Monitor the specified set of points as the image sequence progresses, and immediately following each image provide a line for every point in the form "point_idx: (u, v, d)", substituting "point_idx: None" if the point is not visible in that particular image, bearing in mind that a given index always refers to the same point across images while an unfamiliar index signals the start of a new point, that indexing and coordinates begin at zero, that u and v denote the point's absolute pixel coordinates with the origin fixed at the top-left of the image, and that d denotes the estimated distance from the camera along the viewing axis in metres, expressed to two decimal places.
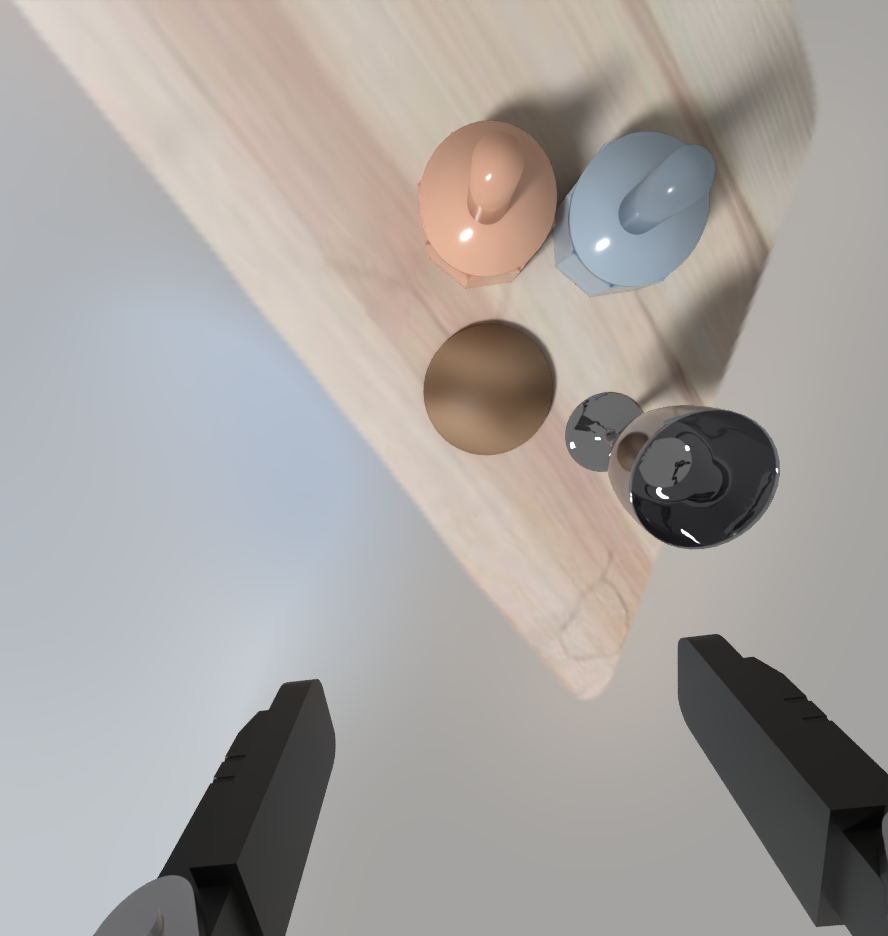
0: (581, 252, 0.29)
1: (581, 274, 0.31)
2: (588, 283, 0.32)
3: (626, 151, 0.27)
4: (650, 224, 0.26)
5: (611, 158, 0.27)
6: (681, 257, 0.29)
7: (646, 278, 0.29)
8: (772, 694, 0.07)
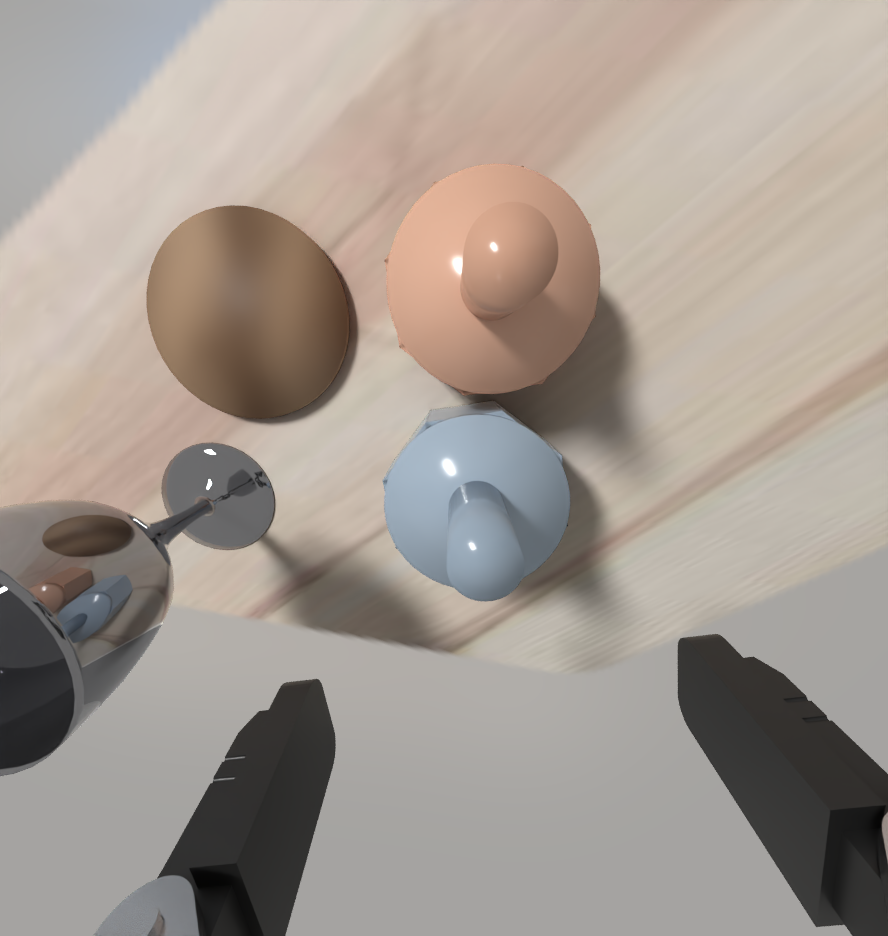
0: (424, 434, 0.20)
1: (409, 442, 0.23)
2: None
3: (548, 483, 0.20)
4: (448, 523, 0.19)
5: (541, 464, 0.20)
6: (421, 566, 0.22)
7: (394, 526, 0.21)
8: (772, 694, 0.07)
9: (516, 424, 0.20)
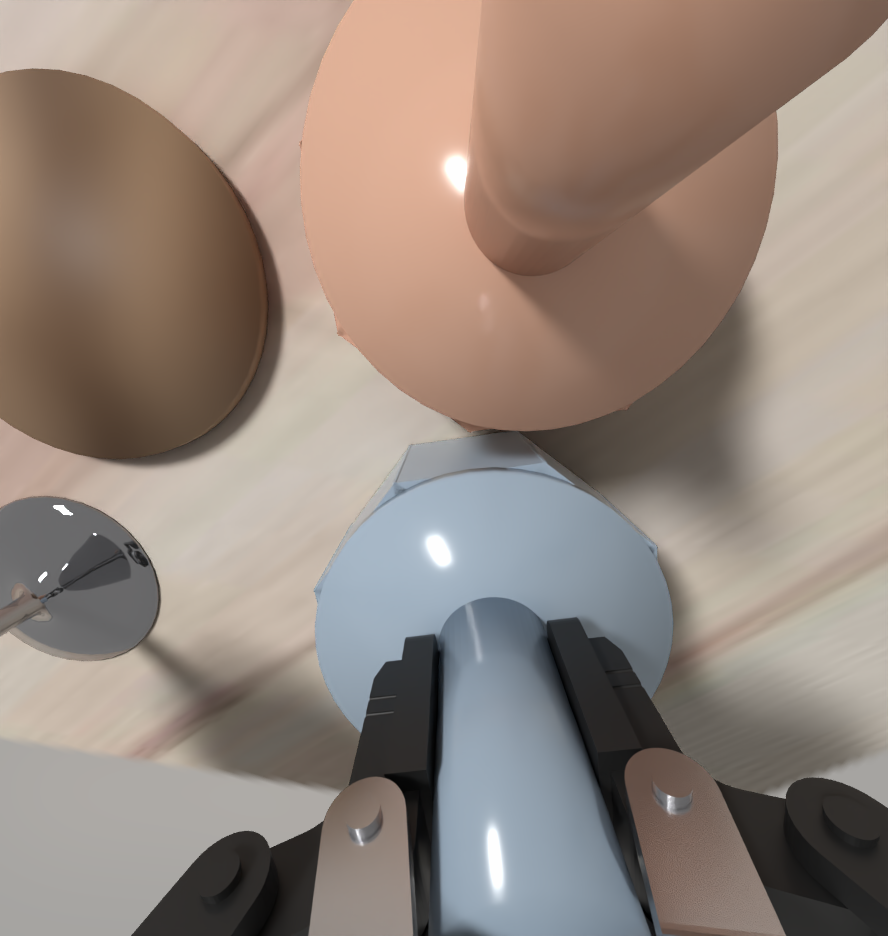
0: (389, 511, 0.10)
1: (369, 508, 0.12)
2: (355, 525, 0.13)
3: (632, 602, 0.11)
4: (436, 712, 0.09)
5: (621, 567, 0.10)
6: None
7: (336, 676, 0.11)
8: (596, 665, 0.08)
9: (575, 492, 0.10)
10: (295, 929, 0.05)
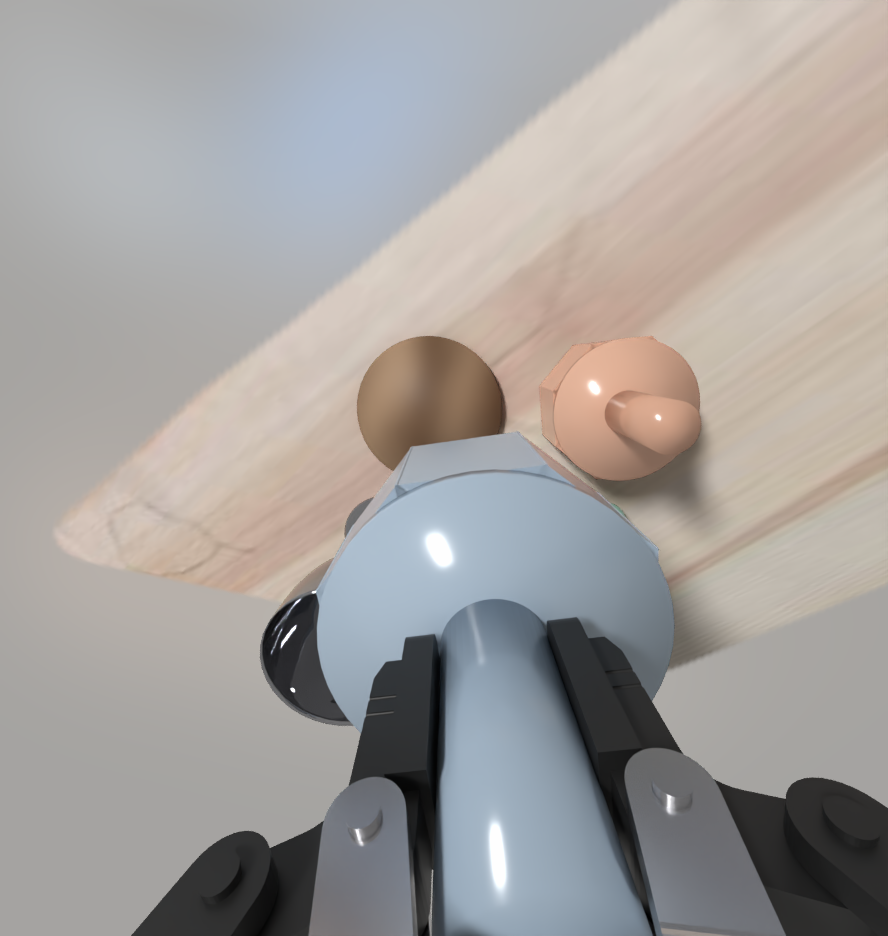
0: (391, 513, 0.10)
1: (370, 510, 0.13)
2: (357, 526, 0.13)
3: (634, 603, 0.11)
4: (438, 714, 0.09)
5: (622, 569, 0.10)
6: None
7: (337, 677, 0.11)
8: (596, 665, 0.08)
9: (577, 494, 0.10)
10: (295, 929, 0.05)
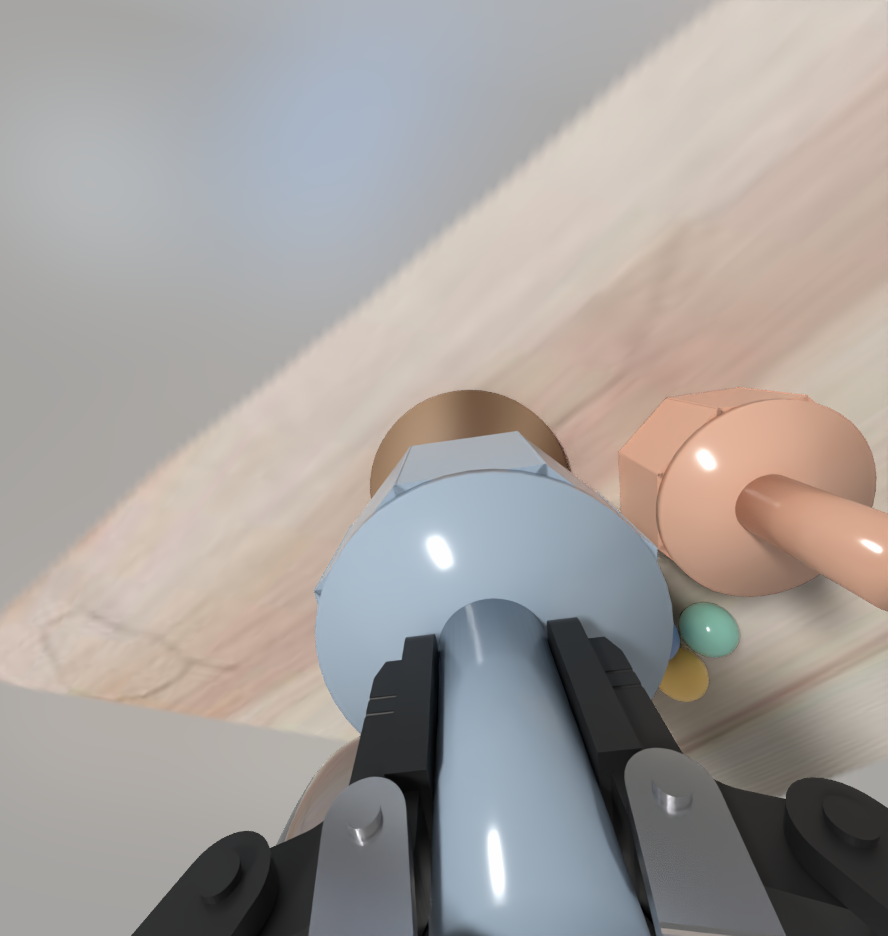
0: (389, 512, 0.10)
1: (369, 509, 0.12)
2: (355, 526, 0.13)
3: (632, 603, 0.11)
4: None
5: (621, 569, 0.10)
6: None
7: (336, 677, 0.11)
8: (596, 665, 0.08)
9: (575, 493, 0.10)
10: (295, 929, 0.05)
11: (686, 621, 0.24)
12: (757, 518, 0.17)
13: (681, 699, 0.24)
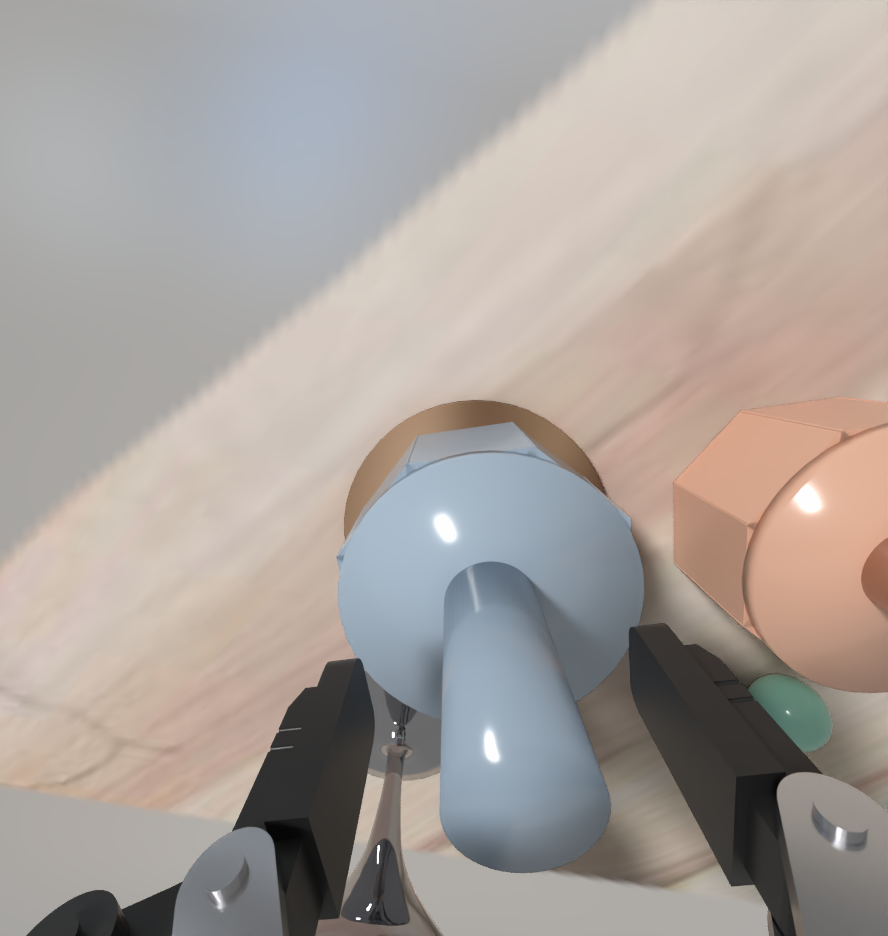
0: (402, 487, 0.12)
1: (382, 489, 0.14)
2: (370, 504, 0.15)
3: (609, 565, 0.12)
4: (443, 650, 0.10)
5: (599, 535, 0.12)
6: (400, 691, 0.14)
7: (355, 631, 0.13)
8: (703, 676, 0.08)
9: (559, 470, 0.12)
10: None
11: (759, 702, 0.19)
12: None
13: None
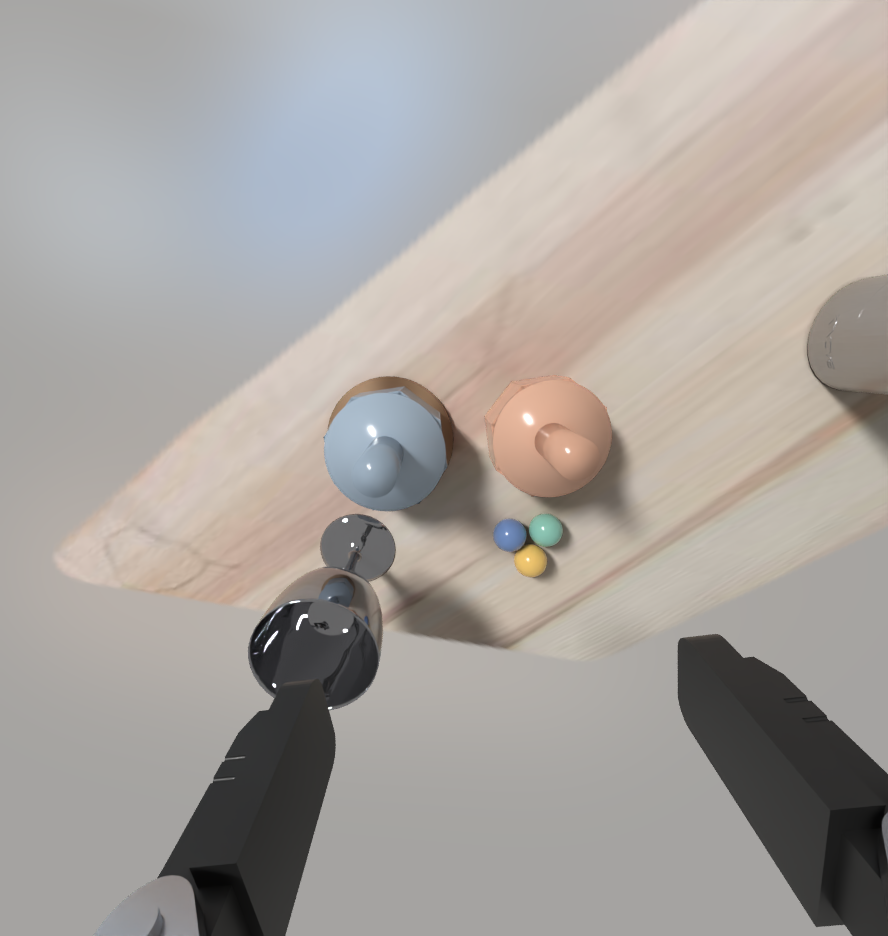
0: (348, 405, 0.31)
1: None
2: None
3: (430, 437, 0.32)
4: None
5: (425, 425, 0.31)
6: (350, 494, 0.33)
7: (331, 467, 0.32)
8: (772, 694, 0.07)
9: (407, 399, 0.31)
10: None
11: (531, 524, 0.38)
12: (538, 446, 0.31)
13: (528, 574, 0.38)
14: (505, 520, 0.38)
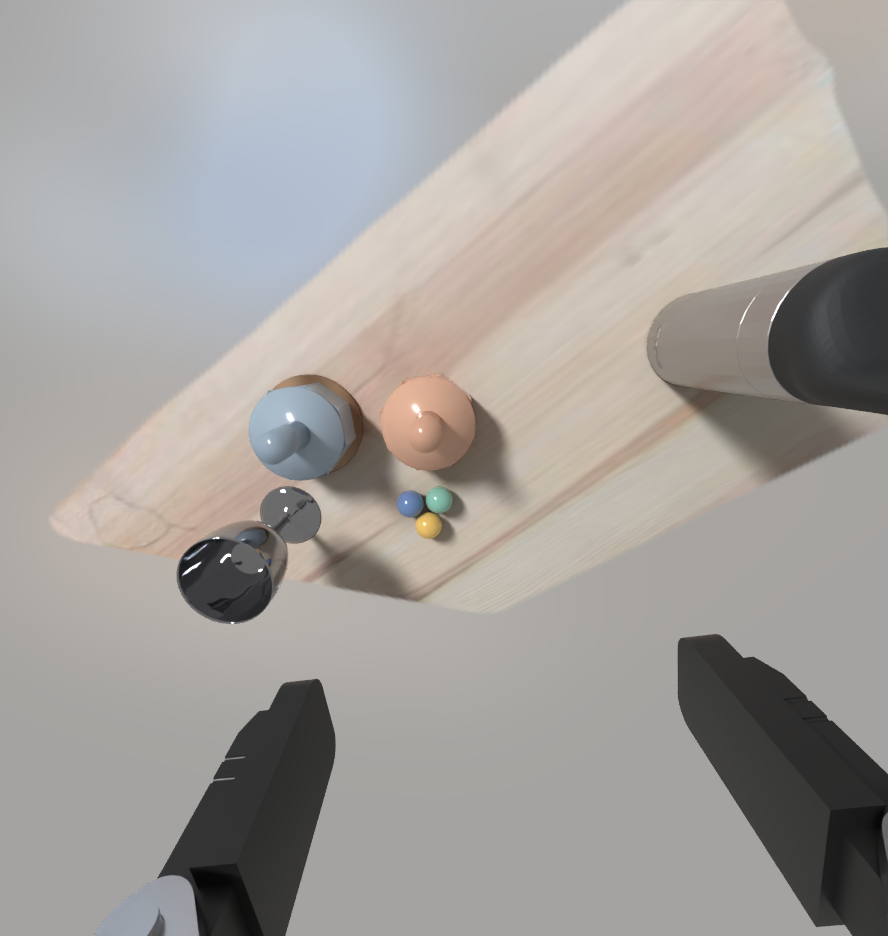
0: (265, 397, 0.40)
1: None
2: None
3: (330, 422, 0.41)
4: None
5: (325, 412, 0.40)
6: (271, 467, 0.42)
7: None
8: (772, 694, 0.07)
9: (311, 391, 0.40)
10: None
11: (427, 495, 0.47)
12: None
13: (424, 535, 0.47)
14: (406, 491, 0.47)
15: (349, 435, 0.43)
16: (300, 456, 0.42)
